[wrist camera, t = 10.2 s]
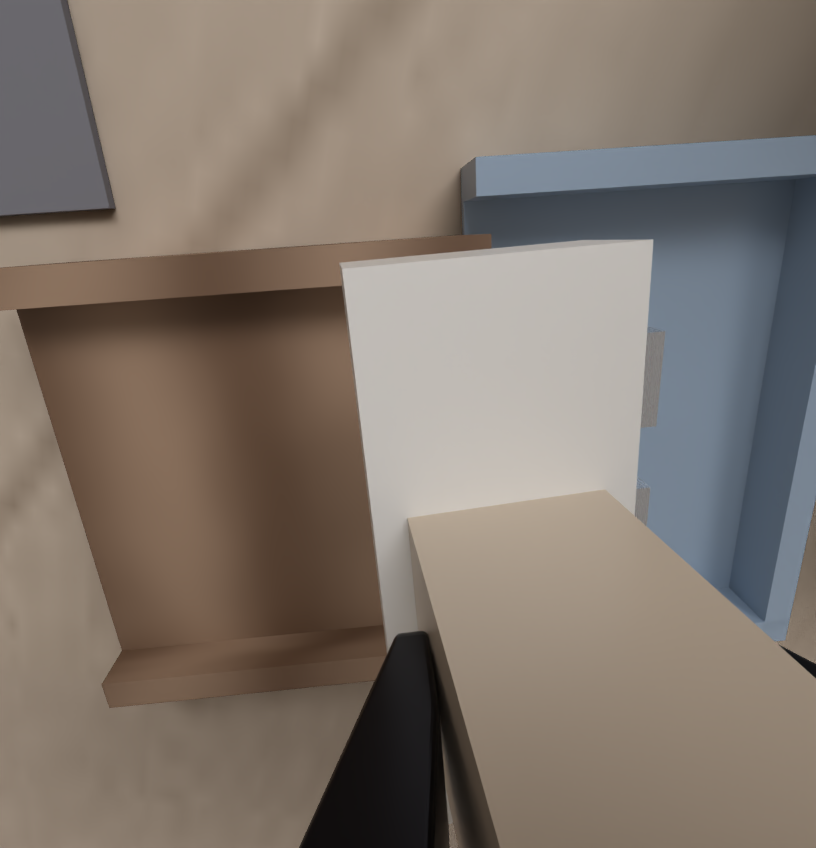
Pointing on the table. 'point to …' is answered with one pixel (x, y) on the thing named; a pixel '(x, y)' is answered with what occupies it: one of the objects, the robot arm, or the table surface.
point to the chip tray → (702, 334)
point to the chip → (652, 376)
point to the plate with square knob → (559, 564)
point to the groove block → (216, 460)
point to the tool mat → (46, 115)
